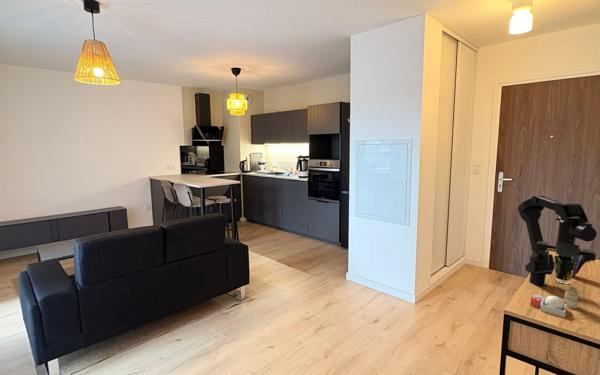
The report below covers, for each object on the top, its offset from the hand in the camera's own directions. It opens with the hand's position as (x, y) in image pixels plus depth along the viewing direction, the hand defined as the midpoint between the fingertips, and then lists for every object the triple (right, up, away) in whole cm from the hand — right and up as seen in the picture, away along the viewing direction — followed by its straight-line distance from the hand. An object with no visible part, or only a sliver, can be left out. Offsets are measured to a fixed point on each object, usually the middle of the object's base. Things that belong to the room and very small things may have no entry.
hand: (561, 270), depth 132 cm
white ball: (-10, -13, -9) cm, 19 cm away
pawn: (-1, -13, -5) cm, 14 cm away
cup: (+25, -10, +27) cm, 38 cm away
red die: (-15, -14, -5) cm, 21 cm away
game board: (-7, -14, -5) cm, 16 cm away
